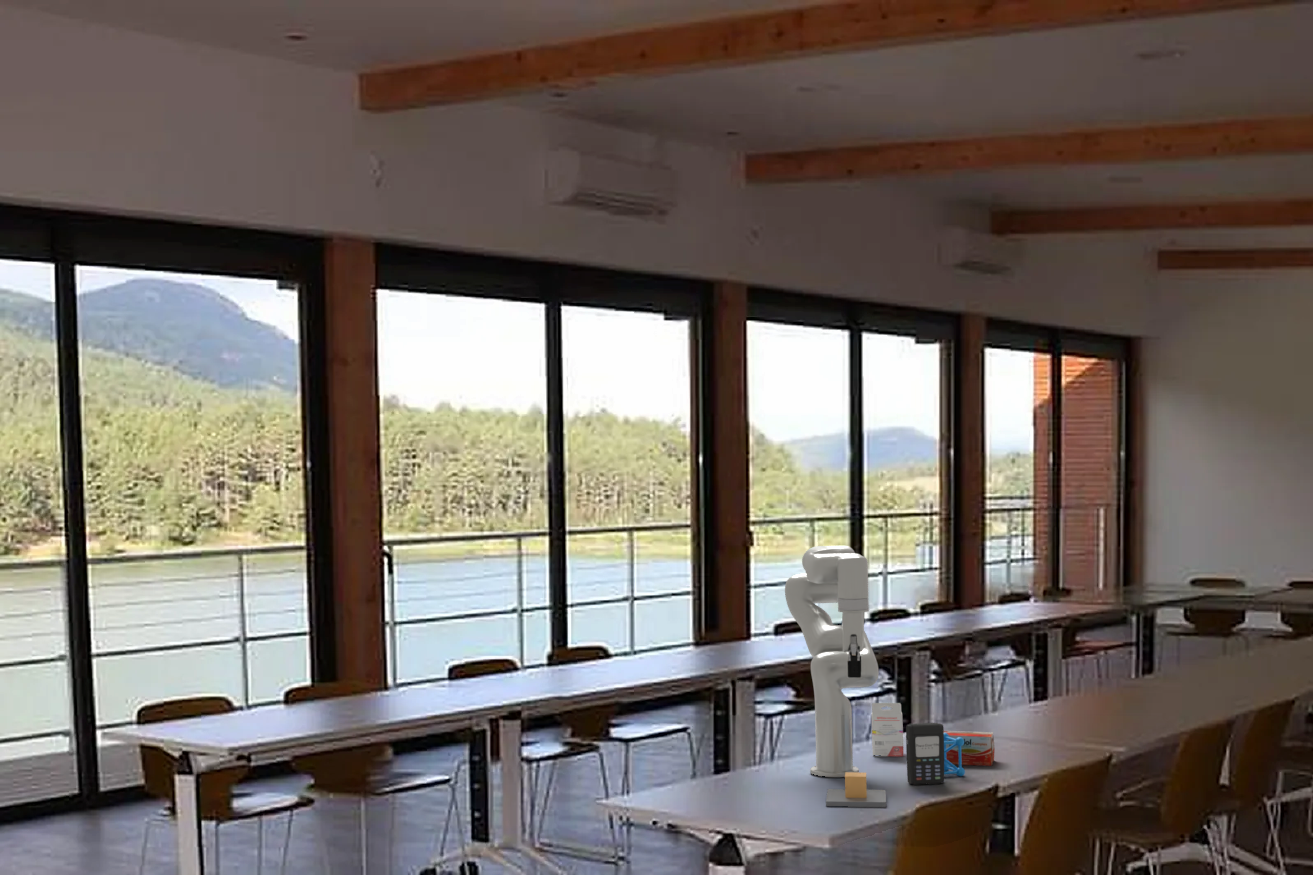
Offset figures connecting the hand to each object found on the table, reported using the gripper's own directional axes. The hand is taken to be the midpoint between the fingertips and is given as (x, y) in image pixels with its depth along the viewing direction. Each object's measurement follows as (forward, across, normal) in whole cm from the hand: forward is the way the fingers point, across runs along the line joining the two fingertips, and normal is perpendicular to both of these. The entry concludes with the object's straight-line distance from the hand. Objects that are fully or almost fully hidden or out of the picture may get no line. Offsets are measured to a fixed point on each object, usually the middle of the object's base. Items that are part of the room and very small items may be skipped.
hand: (854, 674), depth 380 cm
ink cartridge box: (+28, -47, +8) cm, 56 cm away
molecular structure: (+29, -20, +21) cm, 41 cm away
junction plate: (+28, +13, 0) cm, 31 cm away
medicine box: (+29, -37, +28) cm, 55 cm away
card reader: (+28, -8, +17) cm, 34 cm away
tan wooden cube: (+27, +13, 0) cm, 30 cm away
